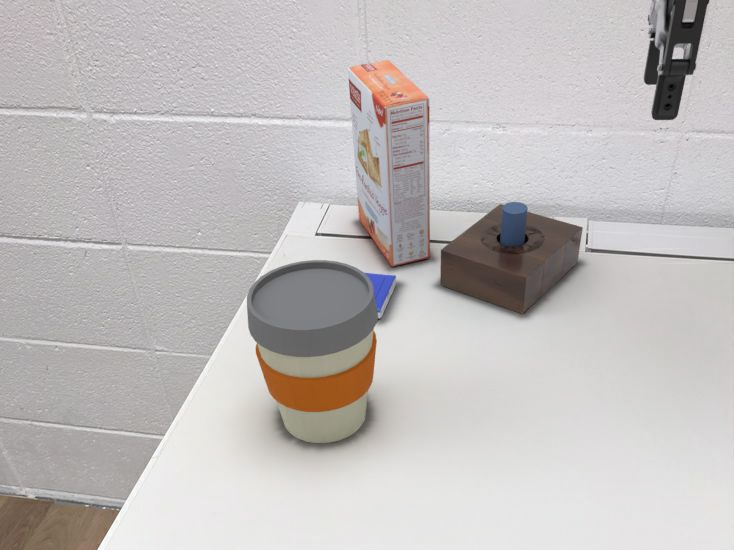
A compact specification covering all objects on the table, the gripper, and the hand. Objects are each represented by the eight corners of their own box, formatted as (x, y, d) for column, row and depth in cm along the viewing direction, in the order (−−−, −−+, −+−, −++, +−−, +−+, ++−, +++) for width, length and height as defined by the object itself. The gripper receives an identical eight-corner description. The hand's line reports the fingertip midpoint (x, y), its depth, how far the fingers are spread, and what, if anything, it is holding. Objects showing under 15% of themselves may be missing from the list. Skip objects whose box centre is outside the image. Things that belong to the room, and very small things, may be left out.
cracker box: (356, 222, 115) (345, 65, 100) (395, 213, 116) (391, 57, 101) (388, 269, 106) (382, 104, 91) (431, 259, 107) (432, 94, 92)
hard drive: (283, 299, 99) (380, 309, 97) (303, 265, 105) (396, 273, 102) (285, 310, 101) (380, 320, 98) (305, 275, 106) (396, 284, 103)
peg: (505, 265, 105) (510, 199, 98) (525, 272, 103) (532, 205, 97) (493, 276, 103) (497, 209, 97) (513, 282, 102) (519, 215, 95)
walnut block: (497, 238, 110) (500, 203, 106) (577, 263, 104) (583, 227, 100) (440, 285, 102) (440, 249, 99) (522, 314, 97) (526, 277, 93)
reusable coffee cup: (407, 412, 86) (404, 288, 75) (320, 473, 80) (304, 349, 69) (327, 365, 92) (314, 245, 81) (242, 418, 86) (216, 297, 76)
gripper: (767, -98, 58) (711, 131, 69) (735, -136, 67) (691, 71, 79) (658, -92, 59) (622, 132, 71) (642, -130, 68) (613, 73, 80)
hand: (658, 100), depth 75 cm, fingers open, 8 cm apart
